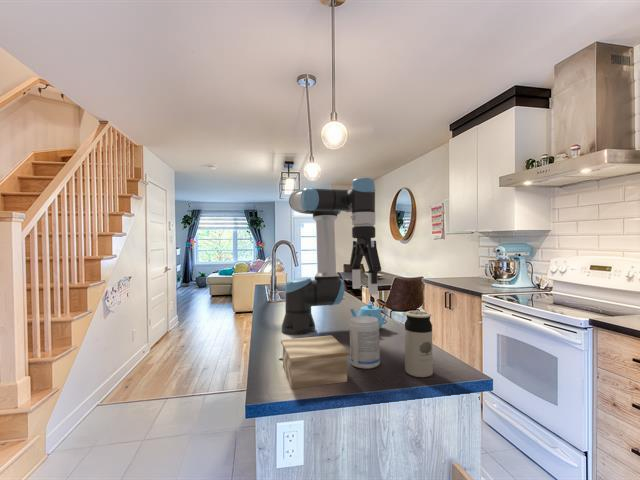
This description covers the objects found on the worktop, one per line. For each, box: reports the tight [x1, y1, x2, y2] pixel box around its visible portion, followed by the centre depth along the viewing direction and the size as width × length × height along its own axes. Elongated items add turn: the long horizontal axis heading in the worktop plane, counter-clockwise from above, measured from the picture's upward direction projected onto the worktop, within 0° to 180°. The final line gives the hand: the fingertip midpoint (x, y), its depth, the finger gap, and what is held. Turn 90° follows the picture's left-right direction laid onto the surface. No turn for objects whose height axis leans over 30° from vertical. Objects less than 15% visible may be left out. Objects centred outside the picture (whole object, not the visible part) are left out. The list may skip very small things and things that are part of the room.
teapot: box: [349, 300, 388, 330], centre depth 146 cm, size 15×14×11 cm
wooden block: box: [280, 335, 350, 389], centre depth 97 cm, size 17×17×8 cm
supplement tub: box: [349, 316, 381, 370], centre depth 105 cm, size 10×10×15 cm
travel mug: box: [404, 310, 434, 378], centre depth 98 cm, size 8×8×18 cm
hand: (364, 291), depth 105 cm, fingers open, 13 cm apart
